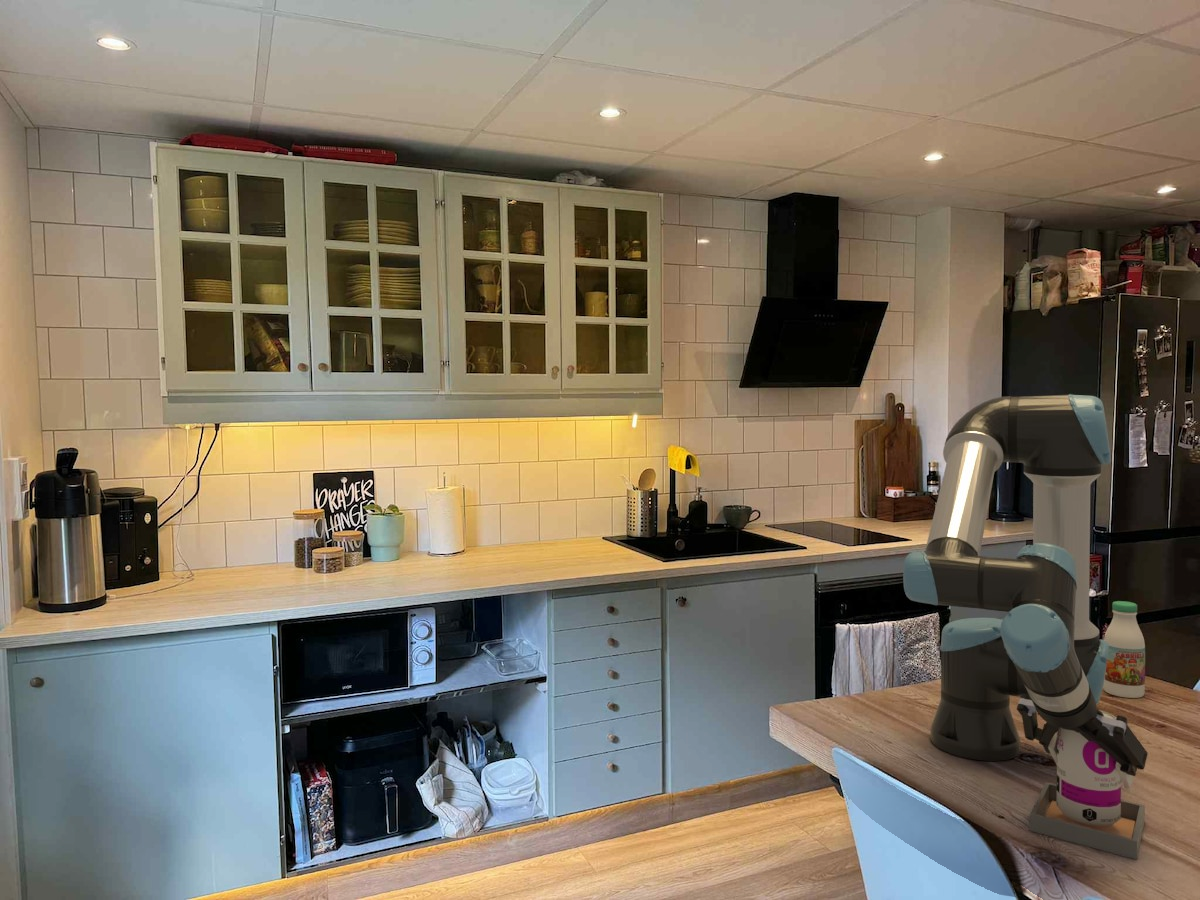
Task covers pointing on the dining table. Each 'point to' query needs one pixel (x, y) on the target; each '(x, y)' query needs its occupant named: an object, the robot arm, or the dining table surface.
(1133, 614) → the milk bottle
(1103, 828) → the tray
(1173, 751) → the dining table surface
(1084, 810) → the supplement can
